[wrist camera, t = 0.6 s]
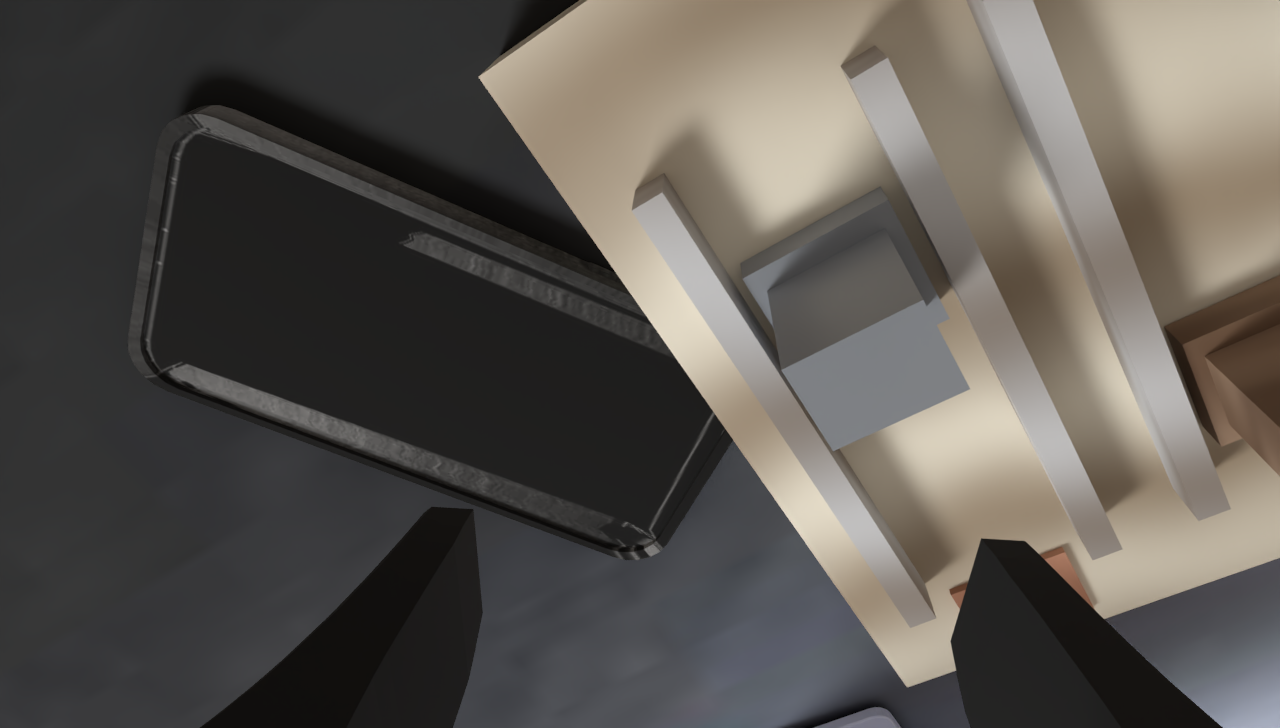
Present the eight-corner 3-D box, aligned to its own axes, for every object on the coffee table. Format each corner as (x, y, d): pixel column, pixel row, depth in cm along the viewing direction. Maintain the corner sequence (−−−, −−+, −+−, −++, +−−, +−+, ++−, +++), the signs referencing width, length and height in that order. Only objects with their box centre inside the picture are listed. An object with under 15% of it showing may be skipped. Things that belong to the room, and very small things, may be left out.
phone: (650, 571, 24) (121, 375, 22) (651, 543, 25) (145, 353, 23) (785, 357, 21) (164, 91, 18) (780, 334, 22) (190, 79, 19)
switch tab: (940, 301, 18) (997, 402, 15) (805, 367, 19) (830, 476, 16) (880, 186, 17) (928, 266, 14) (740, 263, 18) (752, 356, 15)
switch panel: (1446, 428, 21) (1558, 510, 19) (892, 633, 26) (916, 723, 23) (1243, -468, 14) (1385, -555, 11) (498, 56, 18) (463, 90, 15)
